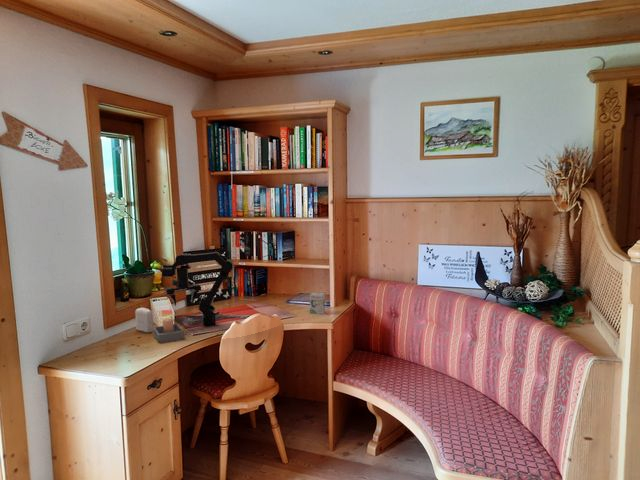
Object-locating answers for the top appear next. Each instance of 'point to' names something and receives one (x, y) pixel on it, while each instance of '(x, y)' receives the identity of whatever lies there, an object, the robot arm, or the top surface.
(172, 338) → the bin
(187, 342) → the top surface
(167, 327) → the terracotta cylinder
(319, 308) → the ink box
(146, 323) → the photo printer
